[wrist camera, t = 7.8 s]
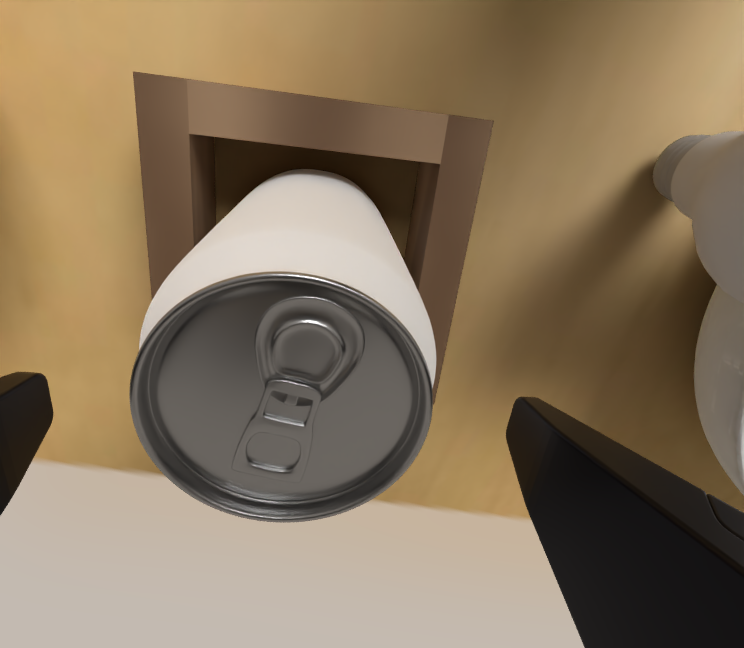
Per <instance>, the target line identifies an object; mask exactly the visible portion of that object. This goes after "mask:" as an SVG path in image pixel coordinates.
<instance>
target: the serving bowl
mask: <svg viewBox="0 0 744 648" xmlns="http://www.w3.org/2000/svg"><path fill="white" fill-rule="evenodd" d="M694 387H695V397H696V403H697V409H698V414H699V417H700V421H701V425H702V427H703V430H704V433H705V436H706V438H707V440H708V442H709V444H710V446H711V449H712V450H713V452H714V454H715V456H716V458H717V460H718V461H719V463H720V464H721V466H722V468H723V469H724V471H725V472H726V474H727V475H728V476H729V478H730V479H731V480H732V482H733V483H734V484H735V486H736V487H737V488H738V489H739V490H740V492H741V493H742V494H743V495H744V304H742V303H741V302H739V301H738V300H736V299H735V298H733V297H732V296H730V295H729V294H727V293H725V292H724V291H723V290H722V289H721V288H720V287H719V286H718V284H717V285H716V288H715V290H714V292H713V294H712V297H711V299H710V301H709V304H708V306H707V309H706V312H705V315H704V318H703V321H702V324H701V328H700V332H699V337H698V341H697V346H696V354H695V364H694Z"/></svg>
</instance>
